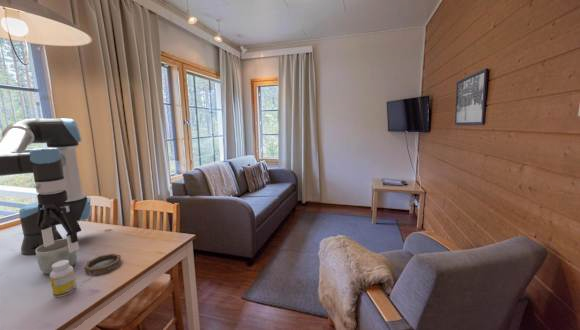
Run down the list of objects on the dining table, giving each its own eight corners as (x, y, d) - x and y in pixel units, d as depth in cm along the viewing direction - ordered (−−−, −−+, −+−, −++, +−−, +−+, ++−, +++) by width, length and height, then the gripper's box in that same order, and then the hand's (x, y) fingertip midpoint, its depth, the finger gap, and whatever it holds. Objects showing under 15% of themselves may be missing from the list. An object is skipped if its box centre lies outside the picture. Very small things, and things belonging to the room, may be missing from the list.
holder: (78, 271, 104) (77, 266, 103) (108, 257, 115) (107, 251, 115) (98, 277, 100) (97, 272, 99) (127, 261, 111) (126, 256, 111)
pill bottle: (63, 286, 95) (58, 258, 93) (81, 285, 95) (76, 258, 93) (48, 298, 88) (42, 268, 86) (67, 297, 89) (62, 267, 87)
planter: (45, 280, 98) (40, 255, 96) (35, 271, 105) (31, 247, 103) (83, 265, 108) (79, 242, 107) (72, 257, 115) (69, 235, 113)
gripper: (15, 191, 86) (26, 247, 90) (63, 197, 79) (73, 258, 82) (42, 186, 93) (51, 238, 97) (88, 191, 86) (96, 247, 89)
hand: (61, 247), depth 90 cm, fingers open, 13 cm apart
